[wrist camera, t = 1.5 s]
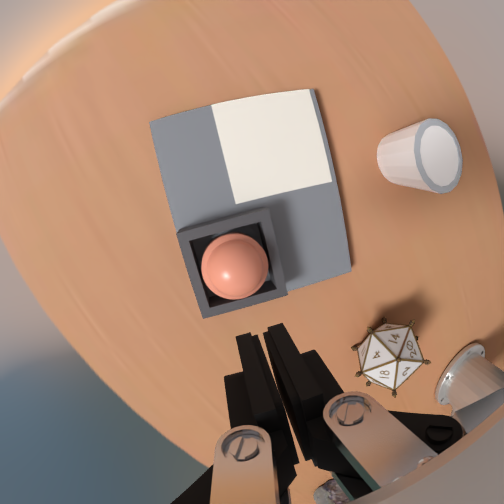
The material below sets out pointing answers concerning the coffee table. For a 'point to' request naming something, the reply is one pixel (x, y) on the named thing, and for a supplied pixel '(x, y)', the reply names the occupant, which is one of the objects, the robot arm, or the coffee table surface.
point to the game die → (389, 355)
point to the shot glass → (422, 157)
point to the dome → (234, 265)
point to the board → (254, 190)
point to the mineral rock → (330, 494)
